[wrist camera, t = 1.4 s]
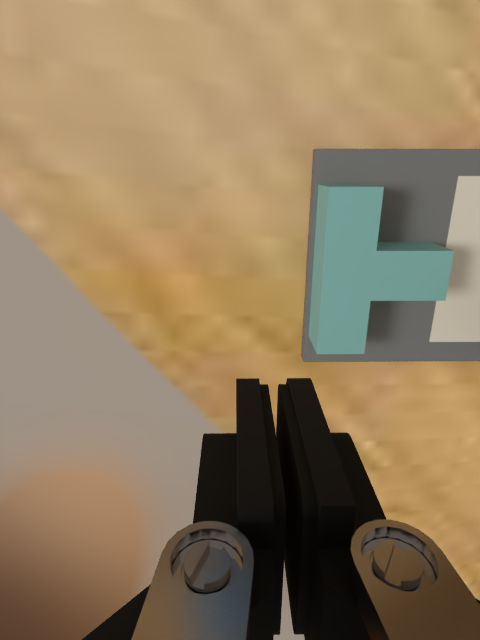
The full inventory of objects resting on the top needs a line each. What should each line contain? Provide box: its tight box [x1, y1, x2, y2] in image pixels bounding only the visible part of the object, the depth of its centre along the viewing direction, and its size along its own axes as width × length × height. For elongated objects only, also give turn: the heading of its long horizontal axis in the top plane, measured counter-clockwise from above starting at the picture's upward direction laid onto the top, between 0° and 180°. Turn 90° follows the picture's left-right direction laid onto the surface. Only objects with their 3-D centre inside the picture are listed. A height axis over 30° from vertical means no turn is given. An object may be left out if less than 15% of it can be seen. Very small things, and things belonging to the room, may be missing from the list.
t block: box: [309, 184, 454, 354], centre depth 26 cm, size 10×8×3 cm
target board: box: [301, 149, 480, 362], centre depth 28 cm, size 14×18×1 cm
